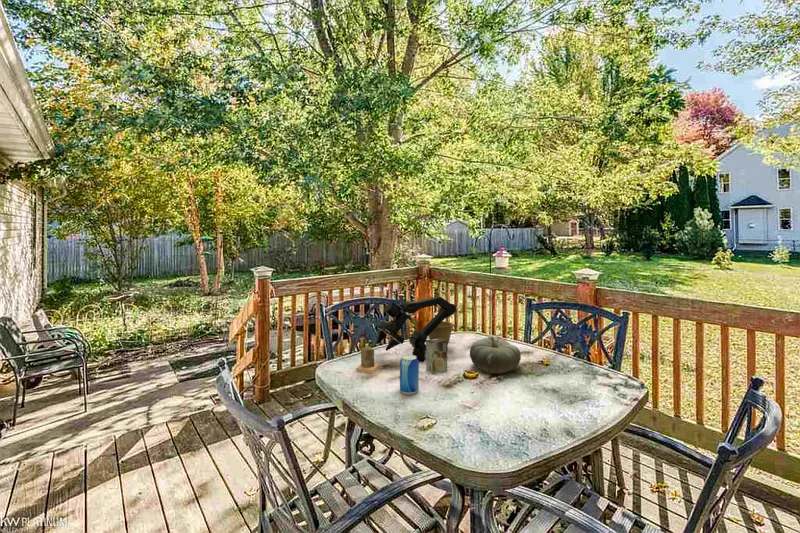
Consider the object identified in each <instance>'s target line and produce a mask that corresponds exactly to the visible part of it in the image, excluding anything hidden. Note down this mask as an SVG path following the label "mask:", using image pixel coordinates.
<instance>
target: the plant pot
mask: <svg viewBox="0 0 800 533" xmlns="http://www.w3.org/2000/svg"><path fill="white" fill-rule="evenodd" d="M429 322H430V321H429ZM429 322H426V325H427V324H428V323H429ZM452 330H453V323H452V322H450V321H444V320H443V321H442V322H441V323H440V324H439V325H438V326H437V327H436V328H435V329H434V330H433V331H432V332H431V333H430V334H429V335H428V340H430V339H436V338H442V339H444V340H447V347H448V345H449V342H450V338H451V335H452Z"/></svg>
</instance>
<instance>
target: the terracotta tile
mask: <svg viewBox="0 0 800 533" xmlns="http://www.w3.org/2000/svg"><path fill="white" fill-rule="evenodd" d="M378 368H379V369H380V363H374V366H373V367H369V368H365V367H363V366H362V365H361V364H359V365H358V366H357V367H356V368H355V369H356V370H355V372H356V371H358V372H357V373H361V372H364V373H363V374H369V373H371V375H373V374H374V373H375V372H377V371H378V370H379V369H378ZM377 369H378V370H377Z"/></svg>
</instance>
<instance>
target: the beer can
mask: <svg viewBox="0 0 800 533" xmlns="http://www.w3.org/2000/svg"><path fill="white" fill-rule="evenodd" d="M419 373H420V361H418V360H417V357H416V356H415V355H412V354H405V355H402V356H401V359H400V361H399V391H400V392H401V393H402V394H403V395H408V396H410V395H411V396H412V395H416V394H417V393H418V391H419V387H420V386H419V385H420V384H419V380H420V379H419V376H420V374H419Z"/></svg>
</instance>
